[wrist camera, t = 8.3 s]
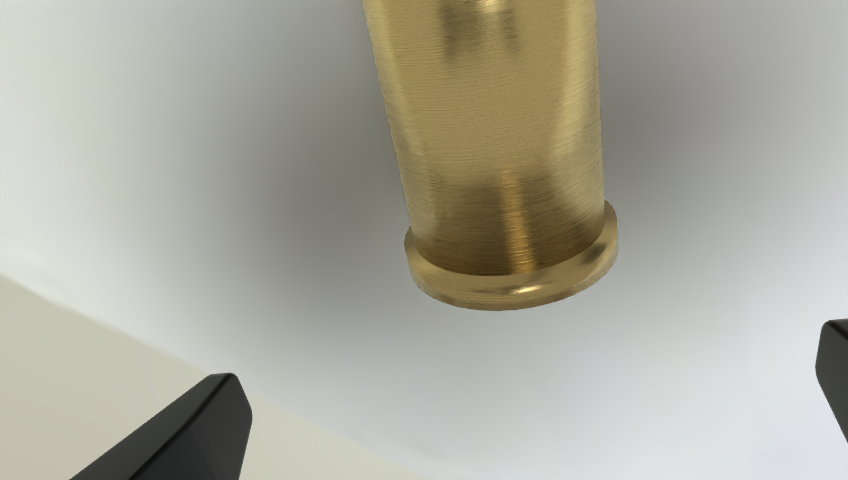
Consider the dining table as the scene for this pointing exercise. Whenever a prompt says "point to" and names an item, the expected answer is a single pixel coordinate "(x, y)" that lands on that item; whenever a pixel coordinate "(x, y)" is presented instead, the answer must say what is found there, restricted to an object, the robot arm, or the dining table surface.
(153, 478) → the robot arm
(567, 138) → the gold cylindrical piece
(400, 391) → the dining table surface
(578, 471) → the dining table surface
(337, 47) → the dining table surface
